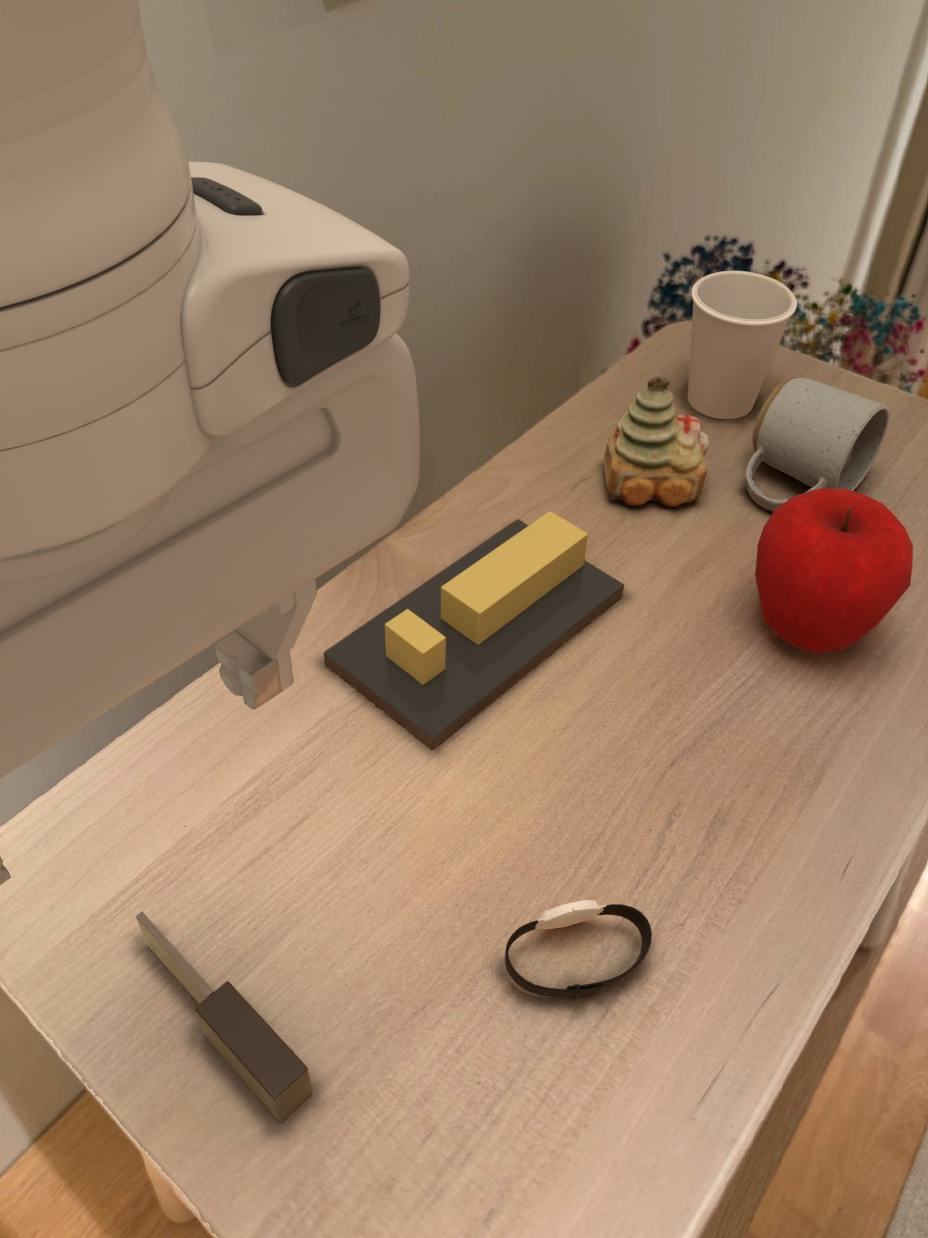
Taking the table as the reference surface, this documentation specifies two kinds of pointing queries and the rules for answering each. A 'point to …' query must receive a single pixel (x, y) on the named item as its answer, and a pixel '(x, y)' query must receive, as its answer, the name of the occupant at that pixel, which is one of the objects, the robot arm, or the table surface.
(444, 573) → the butter dish
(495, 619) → the butter block
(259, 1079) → the dark brown boxy part
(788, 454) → the ceramic mug
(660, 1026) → the table surface
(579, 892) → the table surface
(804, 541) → the apple
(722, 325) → the dixie cup
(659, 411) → the ornament
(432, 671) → the butter pat
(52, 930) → the table surface
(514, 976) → the watch
